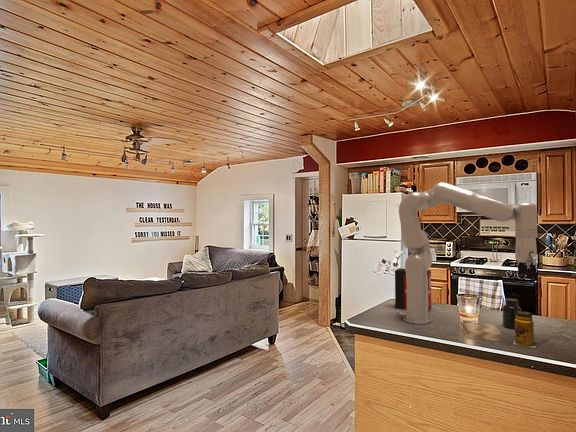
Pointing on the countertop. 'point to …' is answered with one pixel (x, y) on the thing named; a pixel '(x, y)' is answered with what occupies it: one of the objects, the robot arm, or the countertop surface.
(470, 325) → the base slab
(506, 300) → the supplement bottle
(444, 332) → the countertop surface
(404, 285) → the cleaning product box
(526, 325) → the condiment
